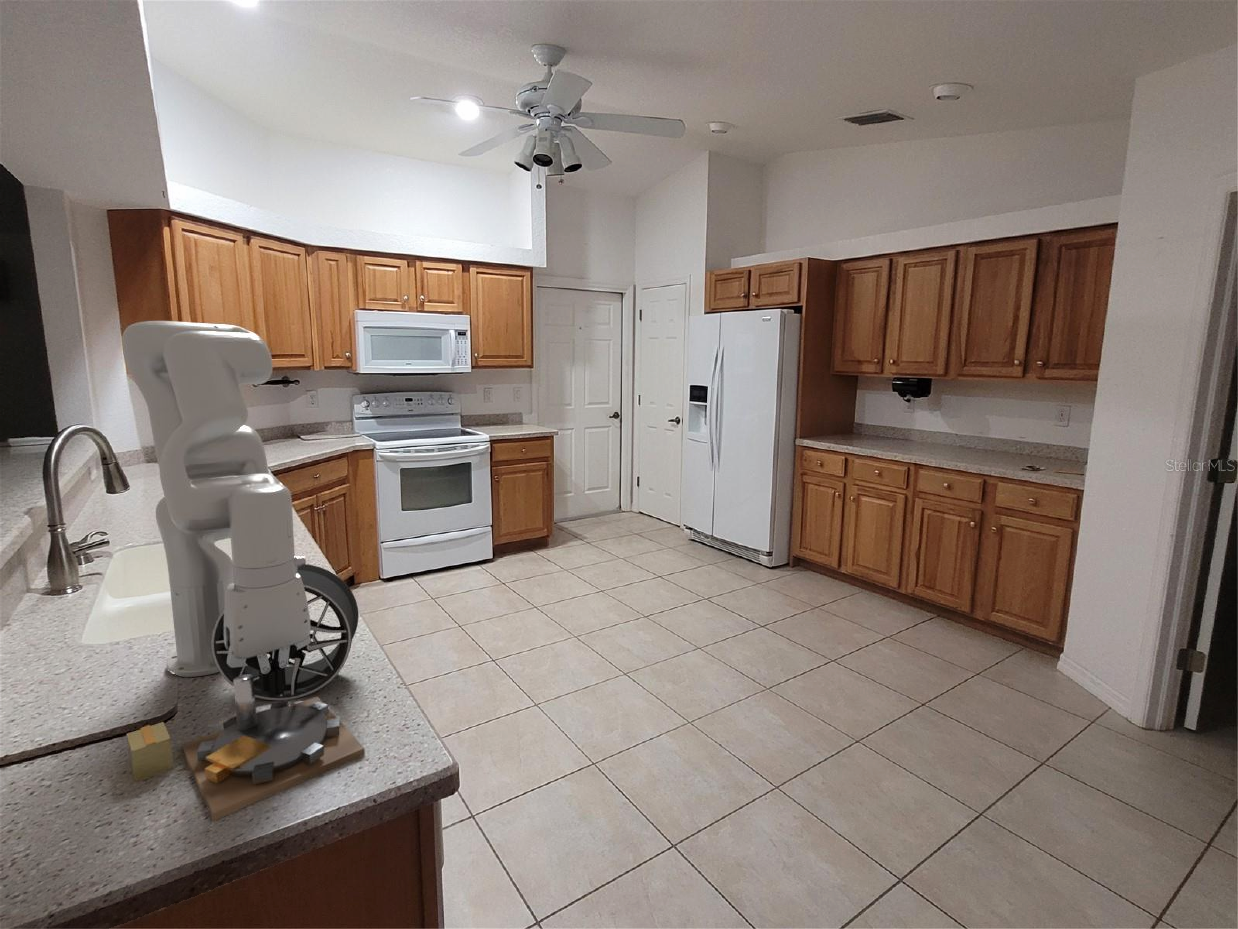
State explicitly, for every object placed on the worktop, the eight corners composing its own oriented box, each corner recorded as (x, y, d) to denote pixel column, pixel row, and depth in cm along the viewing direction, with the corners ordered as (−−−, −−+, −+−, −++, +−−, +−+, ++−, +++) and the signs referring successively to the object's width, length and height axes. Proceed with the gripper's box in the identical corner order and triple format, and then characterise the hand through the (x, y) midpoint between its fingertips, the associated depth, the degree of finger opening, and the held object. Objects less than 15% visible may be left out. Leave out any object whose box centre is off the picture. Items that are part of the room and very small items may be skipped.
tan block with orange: (130, 764, 81) (126, 732, 81) (166, 751, 84) (163, 720, 83) (135, 782, 78) (131, 749, 77) (173, 768, 81) (170, 736, 80)
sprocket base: (181, 750, 84) (180, 742, 84) (317, 702, 97) (317, 694, 97) (213, 821, 72) (212, 811, 72) (364, 754, 84) (364, 746, 84)
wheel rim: (216, 707, 95) (205, 586, 91) (235, 678, 103) (226, 566, 100) (353, 692, 100) (348, 577, 97) (361, 666, 109) (356, 559, 105)
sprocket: (168, 762, 79) (162, 703, 78) (283, 698, 95) (280, 648, 94) (258, 801, 73) (253, 737, 72) (365, 725, 89) (363, 672, 87)
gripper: (310, 554, 92) (315, 665, 95) (194, 578, 81) (205, 702, 84) (331, 566, 87) (336, 683, 90) (211, 594, 76) (222, 725, 79)
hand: (273, 692), depth 87 cm, fingers closed
